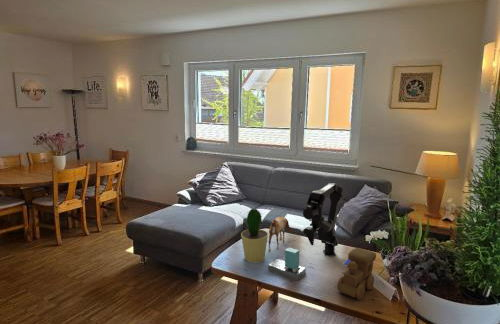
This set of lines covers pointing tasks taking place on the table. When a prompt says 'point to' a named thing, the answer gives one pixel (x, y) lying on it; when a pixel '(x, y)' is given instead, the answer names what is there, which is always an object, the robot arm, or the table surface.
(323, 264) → the table surface
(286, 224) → the horse figurine
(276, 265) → the grey block with holes
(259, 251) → the potted cactus
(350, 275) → the wooden toy train
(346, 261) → the hard drive
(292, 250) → the clip
